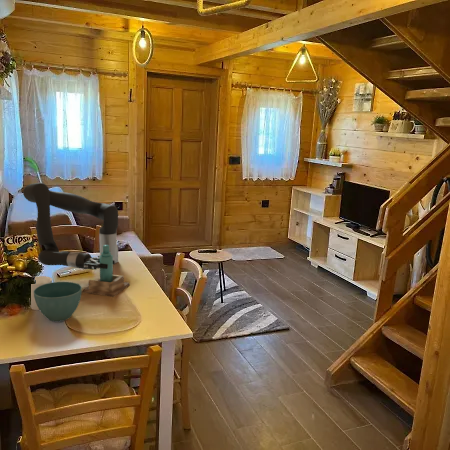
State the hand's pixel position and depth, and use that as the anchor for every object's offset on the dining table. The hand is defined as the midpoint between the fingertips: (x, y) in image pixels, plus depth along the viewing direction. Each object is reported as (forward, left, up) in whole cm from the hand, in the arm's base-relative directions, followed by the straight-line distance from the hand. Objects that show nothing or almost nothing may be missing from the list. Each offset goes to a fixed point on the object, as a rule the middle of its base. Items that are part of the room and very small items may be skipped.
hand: (110, 264), depth 216 cm
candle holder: (+33, -7, -13) cm, 36 cm away
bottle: (+1, -2, -10) cm, 10 cm away
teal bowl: (+35, +8, -13) cm, 38 cm away
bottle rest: (+1, -2, -12) cm, 13 cm away
